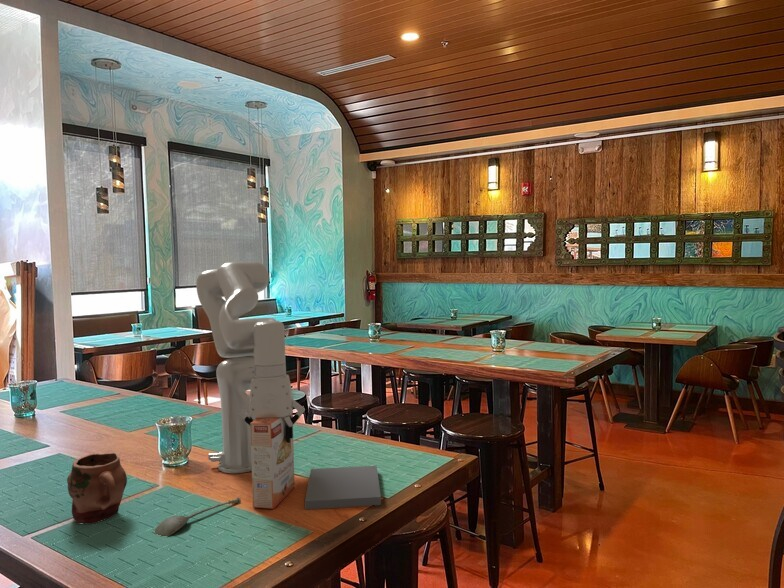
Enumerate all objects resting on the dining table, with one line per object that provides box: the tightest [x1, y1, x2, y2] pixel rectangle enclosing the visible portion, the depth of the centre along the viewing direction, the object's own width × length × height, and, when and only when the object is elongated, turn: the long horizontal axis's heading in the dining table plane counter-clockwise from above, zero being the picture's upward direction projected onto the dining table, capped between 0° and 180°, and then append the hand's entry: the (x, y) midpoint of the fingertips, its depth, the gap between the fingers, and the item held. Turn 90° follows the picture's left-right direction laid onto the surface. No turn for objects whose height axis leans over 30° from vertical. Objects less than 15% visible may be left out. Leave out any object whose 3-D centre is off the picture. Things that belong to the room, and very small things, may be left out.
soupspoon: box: [154, 497, 242, 537], centre depth 136 cm, size 22×3×7 cm
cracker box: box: [250, 409, 296, 510], centre depth 146 cm, size 14×6×21 cm, turn 168°
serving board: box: [304, 465, 382, 510], centre depth 151 cm, size 18×22×2 cm
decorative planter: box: [66, 452, 128, 524], centre depth 137 cm, size 20×12×14 cm, turn 51°
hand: (273, 441), depth 146 cm, fingers closed on cracker box, 7 cm apart
